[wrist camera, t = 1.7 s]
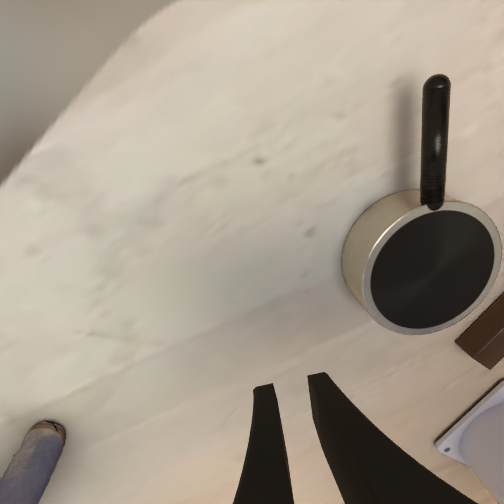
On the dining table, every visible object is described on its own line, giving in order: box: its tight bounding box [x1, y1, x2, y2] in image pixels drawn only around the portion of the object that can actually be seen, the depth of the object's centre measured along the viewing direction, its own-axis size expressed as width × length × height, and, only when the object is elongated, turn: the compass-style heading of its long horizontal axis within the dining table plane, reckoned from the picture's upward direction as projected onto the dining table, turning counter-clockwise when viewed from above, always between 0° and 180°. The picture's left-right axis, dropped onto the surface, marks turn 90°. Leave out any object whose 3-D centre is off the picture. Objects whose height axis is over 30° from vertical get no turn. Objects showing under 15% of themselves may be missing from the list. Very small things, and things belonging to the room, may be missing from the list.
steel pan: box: [342, 74, 502, 335], centre depth 18 cm, size 14×8×3 cm, turn 10°
